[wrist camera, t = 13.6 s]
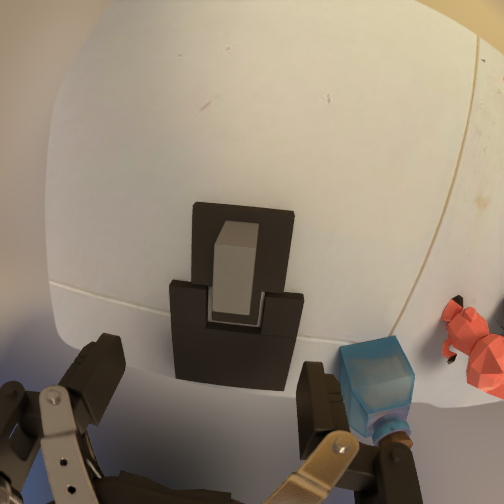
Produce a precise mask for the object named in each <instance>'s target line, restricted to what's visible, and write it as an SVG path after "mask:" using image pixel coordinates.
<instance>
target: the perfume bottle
mask: <svg viewBox="0 0 504 504" xmlns="http://www.w3.org/2000/svg"><path fill="white" fill-rule="evenodd" d="M414 380H415V373H414V371H413V369H412V367H411V365H410V363H409V361H408V359H407V357H406V355H405V353H404V351H403V350H402V348H401V346H400V344H399V342H398V340H397V338H396V336H391V337H387V338H382V339H377V340H373V341H368V342H363V343H358V344H353V345H347V346H342V347H340V386H341V391H342V395H343V400H344V404H345V409H346V413H347V418H348V423H349V427H351V428H352V429H353V430H355V431H356V432H358V433H359V434H361V435H362V436H363V437H365V438H366V437H370V436H372V439H373V443H374V446H376V447H381V448H382V447H383V446H384V445H385V444H387V443H389V442H401V443H403V444H405V445H407V446H408V447H409V449H410V448H411V447H412V445H413V442H412V440H411V439H410V438H409V436H410V434H411V430H410V428H409V425H408V423H407V422H406V419H407V415H408V412H409V409H410V405H411V400H412V394H413V387H414Z"/></svg>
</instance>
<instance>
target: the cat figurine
mask: <svg viewBox="0 0 504 504" xmlns="http://www.w3.org/2000/svg"><path fill="white" fill-rule="evenodd" d="M462 309H463V298H462V297H461V296H460V295H458V296H456V297H454V298H452V299H451V300H450V302H449V304H448V305H447V307H446V308H445V310H444V312H443V315H442V318H441V319H442V320H444V321H449V323H448V324H447V325H446V330H448V337H449V338H448V339H447V340H446V341H445V342H444V345H443V351H442V355H443V357H445V358H448V361H447V362H448V364H451V363H452V362H454V361H455V358H456V356H457V354H456V353H454V352H451V351H449V346H450V345H451V344H452V345H453V346H454V348H456V349H458V350H460V351H461V352H463V353H465V354H466V355H468V356H469V361H468V366H467V370H466V372H467V383H468V384H470V385H472V386H474V387H476V388H478V389H480V390H482V391H484V392H486V393H489V394H491V395H494V396H496V397H499V398H501V399H504V337H503V336H504V335H503V336H500V335H496V334H493V333H492V334H490V332H489V328H488V325H487V322H486V320H485V319H484V318H483V317H481V316H480V315H479V314H478V313H477V312H476V310H475V309H474V308H472V307H468V308H467V309H465V310H463V311H462ZM461 311H462V312H461ZM497 322H498V321H497ZM499 325H500V324H499ZM502 328H503V327H502ZM503 329H504V328H503ZM501 335H502V334H501Z"/></svg>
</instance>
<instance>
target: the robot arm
mask: <svg viewBox="0 0 504 504" xmlns="http://www.w3.org/2000/svg"><path fill="white" fill-rule="evenodd" d="M125 366H126V361H125V357H124V352H123V347H122V343H121V338H120V337H119V336H116V335H112V334H107V333H103V334H102V335H101V336H100V337H99V339H98V340H97V342H93V341H92V342H91V343H89V344H88V345H86V346H85V347H83V349H82V350H81V352H80V353H79V355H78V356H77V357H76V359H75V360H74V363H72V364H71V366H70V367H69V369H68V370H67V372H66V373H65V375H64V376H63V378H62V379H61V381H60V382H59V383H58V385H51V386H48V387H46V388H44V389H43V390H42V392H32V391H25V389H24V387H23V385H22V384H21V383H19V382H17V381H9V382H6V383H5V384H3V385H2V386H1V388H0V504H23V497H22V495H21V491H22V488H23V486H24V483H25V481H26V478H27V476H28V473H29V471H30V469H31V467H32V464H33V462H34V460H35V457H36V455H37V453H38V451H39V449H40V446H41V447H42V452H43V457H44V462H45V466H46V471H47V475H48V479H49V483H50V486H51V490H52V494H53V497H54V500H53V501H51V502H49V503H47V504H244V503H241V502H239V501H237V500H234V499H231V493H228V492H219V491H212V490H205V489H197V490H171V489H169V488H167V487H165V486H163V485H160V484H158V483H156V482H154V481H152V480H150V479H148V478H146V477H142V476H139V475H135V474H131V473H128V472H125V471H122V470H121V472H120V475H119V476H107V477H105V476H104V474H103V472H102V470H101V468H100V466H99V464H98V461H97V459H96V456H95V453H94V450H93V447H92V444H91V441H90V438H89V434H88V431H87V429H86V428H87V426H88V424H89V423H90V424H93V425H96V426H98V424H99V422H100V420H101V418H102V416H103V414H104V412H105V410H106V407H107V406H108V404H109V402H110V400H111V398H112V396H113V394H114V392H115V390H116V388H117V386H118V384H119V382H120V380H121V378H122V375H123V374H124V371H125ZM296 402H297V403H296V404H297V418H298V432H299V449H300V460H306V461H305V462H304V463H303V464H302V465H301V466H300V467H299V468H298V470H296V472H293V473H292V474H290V476H288V477H287V478H286V480H285V481H284V482H283V483H282V484H281V485H280V486H279V487H278V488H277V489H276V490H275V491H274V492H273V493H272V494H271V495H270V496H269V497H268V498H267V499H266V500H265V501H264V502H263V503H262V504H322V503H323V501H324V500H325V499H326V498H327V496H328V495H329V493H330V492H331V490H332V489H333V488H334V487H339V488H343V489H349V490H354V498H355V504H423V501H422V495H421V491H420V486H419V481H418V477H417V472H416V468H415V463H414V459H413V455H412V452H411V450H410V449H409V447H408V446H407V445H405V444H403V443H401V442H389V443H387V444H385V445H384V446H383V447H382V448H381V447H376V446H370V445H366V444H363V443H361V442H359V441H358V440H357V438H356V437H355V436H354V435H353V434H351V432H350V429H349V424H348V419H347V415H346V410H345V405H344V402H343V396H342V392H341V387H340V383H339V382H338V380H337V379H336V378H335V376H334V375H333V374H325V373H324V368H323V363H322V362H310V361H305V362H304V363H303V367H302V370H301V374H300V377H299V381H298V384H297V390H296ZM16 424H17V426H16V428H15V430H14V432H13V434H12V436H11V437H10V434H11V433H12V431H13V429H14V427H15V425H16ZM9 437H10V439H9Z"/></svg>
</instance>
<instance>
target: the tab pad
mask: <svg viewBox="0 0 504 504" xmlns="http://www.w3.org/2000/svg"><path fill="white" fill-rule="evenodd" d="M294 217H295V215H294V211H287V210H278V209H269V208H259V207H249V206H239V205H228V204H217V203H205V202H196V203H195V204H194V205H193V215H192V267H191V283H192V284H199V285H207V286H213V294H212V320H216V321H224V322H232V323H241V324H251V325H257V323H258V315H259V306H260V298H261V291H262V292H272V293H283V292H284V286H285V279H286V273H287V266H288V260H289V253H290V246H291V239H292V232H293V225H294Z"/></svg>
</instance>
